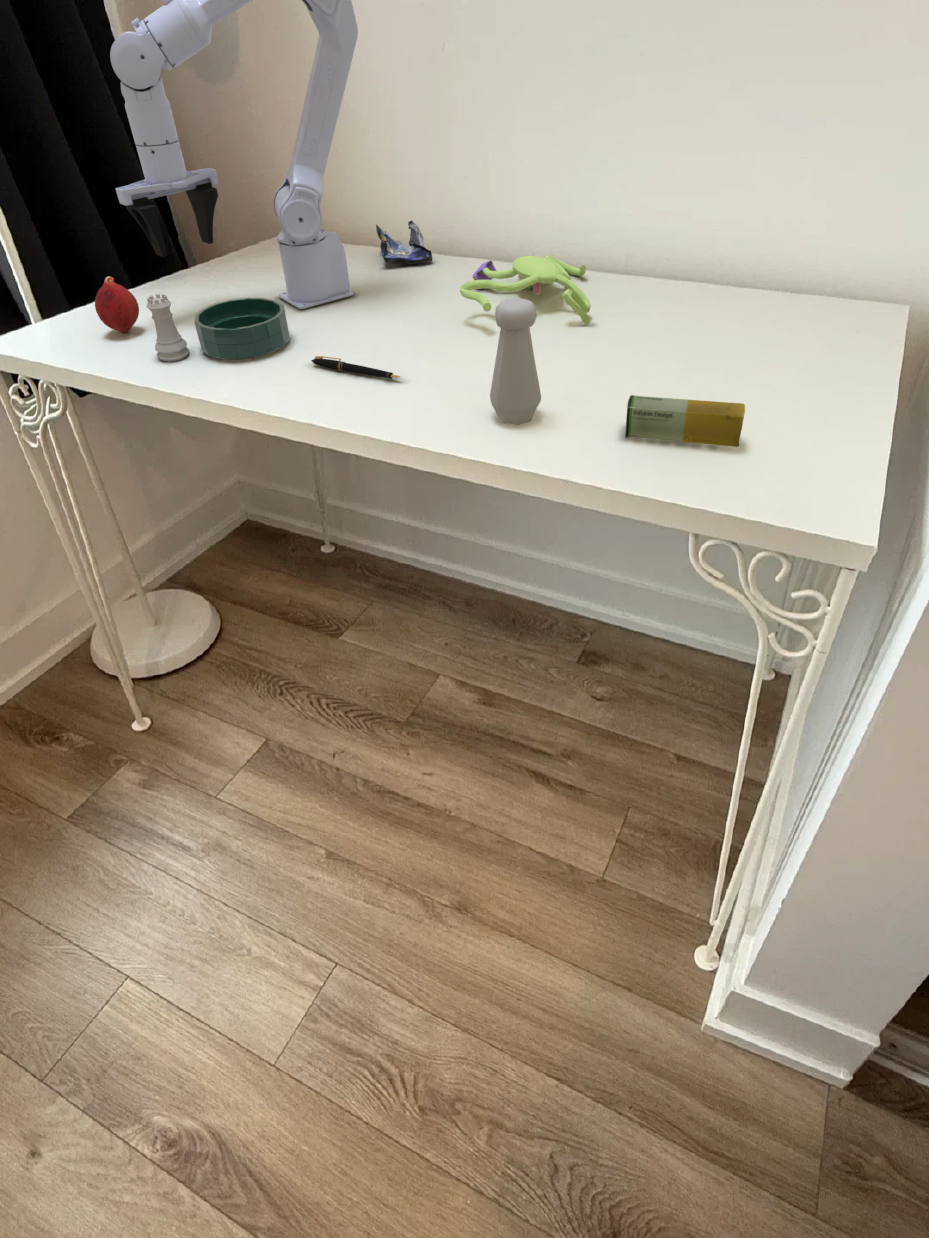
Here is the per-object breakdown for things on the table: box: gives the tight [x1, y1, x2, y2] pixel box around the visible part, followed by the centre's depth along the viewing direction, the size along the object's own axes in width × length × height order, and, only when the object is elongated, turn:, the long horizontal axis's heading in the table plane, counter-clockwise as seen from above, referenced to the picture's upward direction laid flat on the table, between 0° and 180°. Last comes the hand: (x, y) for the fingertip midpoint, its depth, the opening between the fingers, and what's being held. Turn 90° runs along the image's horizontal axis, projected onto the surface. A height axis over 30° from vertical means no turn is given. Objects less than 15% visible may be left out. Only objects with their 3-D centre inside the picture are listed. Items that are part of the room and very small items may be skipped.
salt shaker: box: [489, 297, 542, 426], centre depth 86 cm, size 6×6×13 cm
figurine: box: [459, 254, 592, 325], centre depth 117 cm, size 18×27×6 cm
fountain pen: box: [310, 355, 401, 380], centre depth 101 cm, size 14×1×2 cm, turn 62°
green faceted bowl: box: [193, 297, 291, 360], centre depth 109 cm, size 12×12×4 cm
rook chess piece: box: [145, 293, 190, 363], centre depth 106 cm, size 4×4×8 cm
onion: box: [94, 275, 140, 334], centre depth 114 cm, size 6×6×8 cm
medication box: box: [624, 394, 746, 448], centre depth 83 cm, size 12×3×4 cm, turn 73°
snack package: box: [375, 220, 433, 268], centre depth 136 cm, size 12×6×12 cm
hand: (185, 248), depth 115 cm, fingers open, 7 cm apart
